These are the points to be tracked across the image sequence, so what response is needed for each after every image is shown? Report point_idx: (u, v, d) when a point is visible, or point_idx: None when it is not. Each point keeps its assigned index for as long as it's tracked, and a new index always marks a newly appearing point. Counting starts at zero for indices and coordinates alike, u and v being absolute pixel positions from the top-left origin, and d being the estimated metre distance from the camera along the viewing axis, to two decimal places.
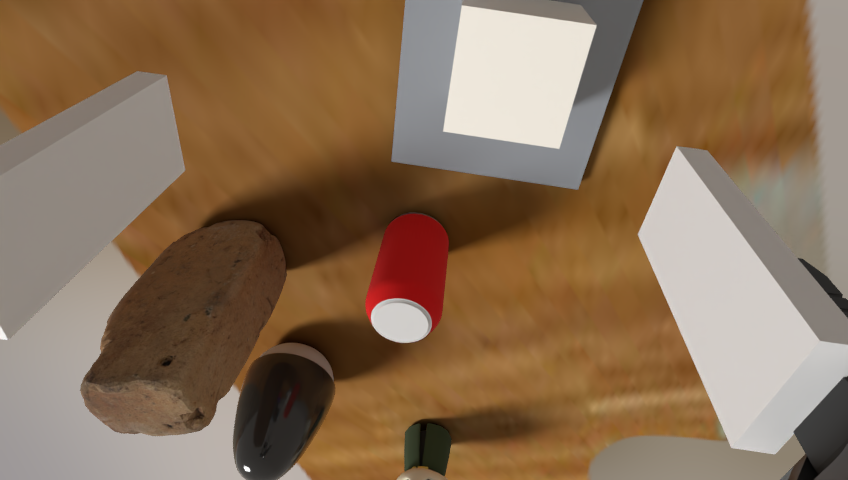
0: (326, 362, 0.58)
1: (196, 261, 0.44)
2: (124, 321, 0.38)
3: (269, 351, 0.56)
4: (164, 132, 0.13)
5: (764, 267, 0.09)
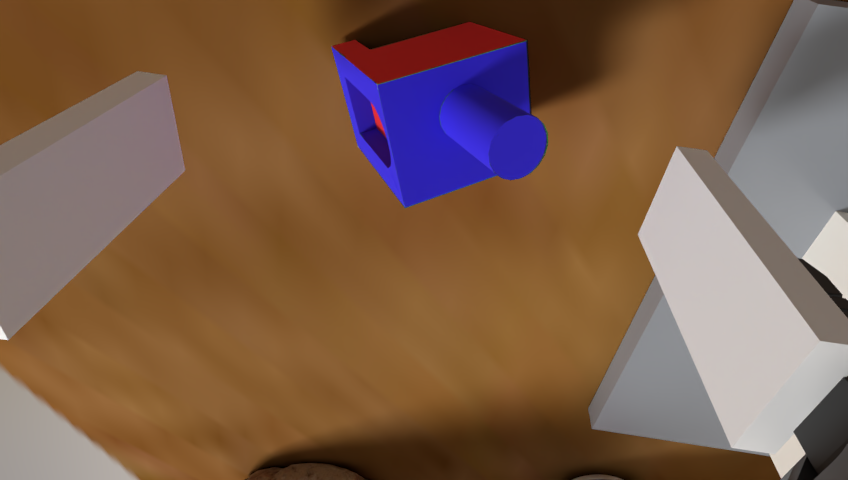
0: None
1: None
2: None
3: None
4: (164, 132, 0.13)
5: (764, 267, 0.09)
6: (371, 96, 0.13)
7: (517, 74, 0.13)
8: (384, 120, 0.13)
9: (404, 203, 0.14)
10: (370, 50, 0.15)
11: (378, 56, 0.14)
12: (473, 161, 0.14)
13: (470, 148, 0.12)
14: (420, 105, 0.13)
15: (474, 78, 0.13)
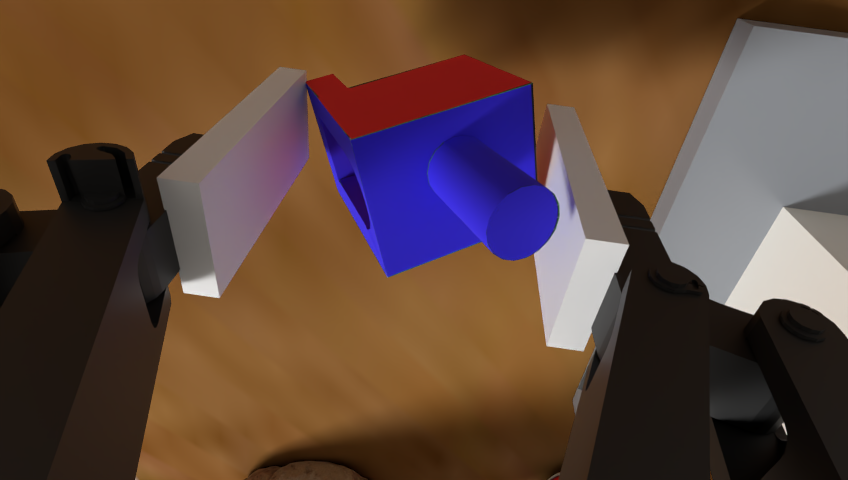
0: None
1: None
2: None
3: None
4: (301, 122, 0.14)
5: (571, 190, 0.10)
6: (346, 149, 0.11)
7: (520, 122, 0.11)
8: (360, 180, 0.11)
9: (386, 272, 0.12)
10: (348, 89, 0.13)
11: (356, 98, 0.12)
12: None
13: (464, 219, 0.10)
14: (404, 162, 0.11)
15: (469, 128, 0.11)
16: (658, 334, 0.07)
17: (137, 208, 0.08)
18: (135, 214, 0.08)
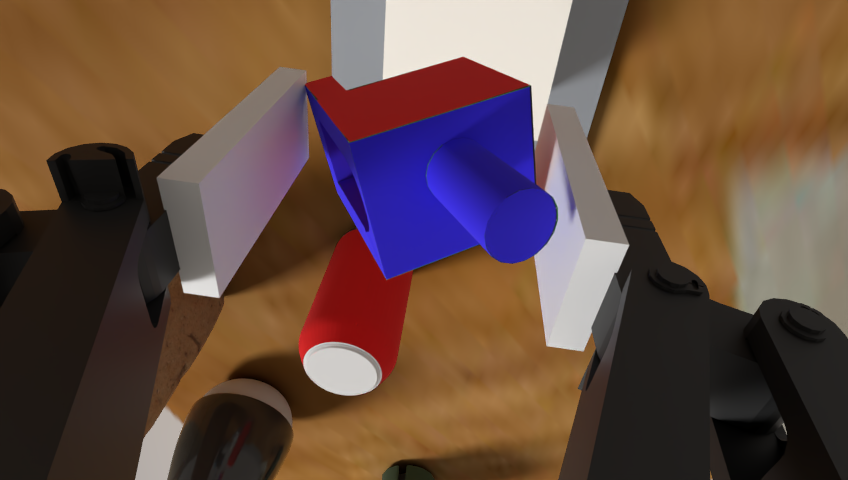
0: (282, 401, 0.49)
1: None
2: None
3: (213, 390, 0.48)
4: (301, 122, 0.14)
5: (571, 190, 0.10)
6: (344, 152, 0.11)
7: (519, 124, 0.11)
8: (359, 183, 0.11)
9: (385, 274, 0.12)
10: (347, 91, 0.13)
11: (355, 100, 0.12)
12: None
13: (462, 222, 0.10)
14: (402, 164, 0.11)
15: (467, 131, 0.11)
16: (658, 334, 0.07)
17: (137, 208, 0.08)
18: (135, 214, 0.08)
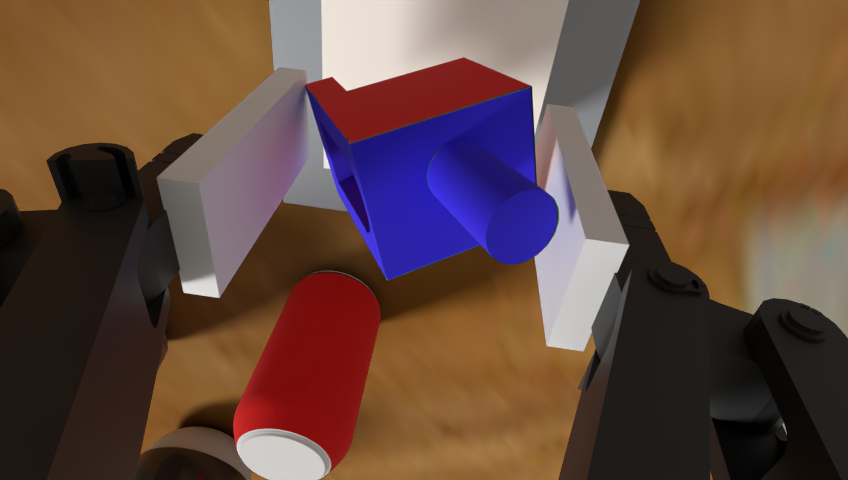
0: None
1: None
2: None
3: (160, 442, 0.43)
4: (301, 122, 0.14)
5: (571, 190, 0.10)
6: (345, 152, 0.11)
7: (519, 125, 0.11)
8: (360, 183, 0.11)
9: (386, 275, 0.12)
10: (347, 92, 0.13)
11: (355, 101, 0.12)
12: None
13: (463, 223, 0.10)
14: (403, 165, 0.11)
15: (468, 131, 0.11)
16: (658, 334, 0.07)
17: (137, 208, 0.08)
18: (135, 214, 0.08)
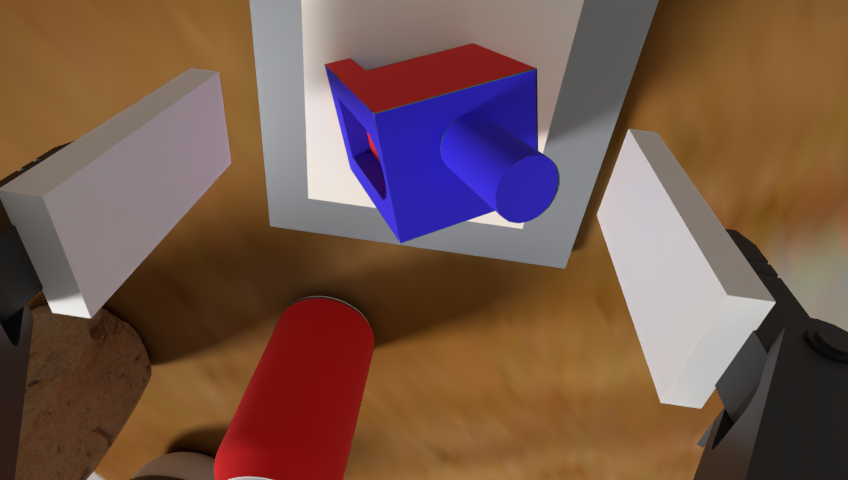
0: None
1: None
2: None
3: (145, 469, 0.41)
4: (215, 126, 0.13)
5: (689, 233, 0.09)
6: (367, 124, 0.12)
7: (525, 104, 0.12)
8: (380, 151, 0.12)
9: (400, 238, 0.13)
10: (366, 71, 0.14)
11: (375, 79, 0.13)
12: (475, 195, 0.13)
13: (474, 186, 0.11)
14: (420, 136, 0.12)
15: (479, 107, 0.12)
16: (816, 404, 0.06)
17: None
18: None
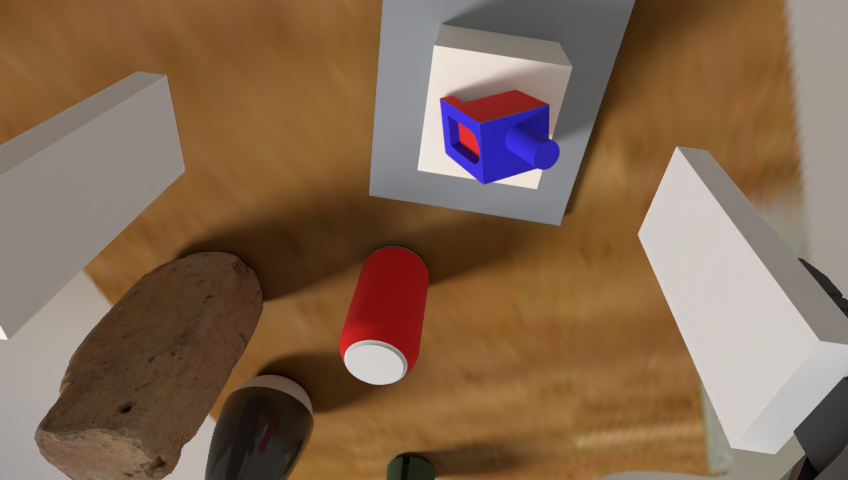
0: (305, 395, 0.56)
1: (166, 297, 0.42)
2: (86, 362, 0.37)
3: (246, 384, 0.55)
4: (164, 132, 0.13)
5: (764, 267, 0.09)
6: (472, 128, 0.27)
7: (543, 120, 0.27)
8: (480, 140, 0.26)
9: (483, 182, 0.28)
10: (465, 103, 0.29)
11: (472, 107, 0.28)
12: (518, 162, 0.28)
13: (523, 155, 0.25)
14: (497, 134, 0.26)
15: (523, 121, 0.27)
16: None
17: None
18: None
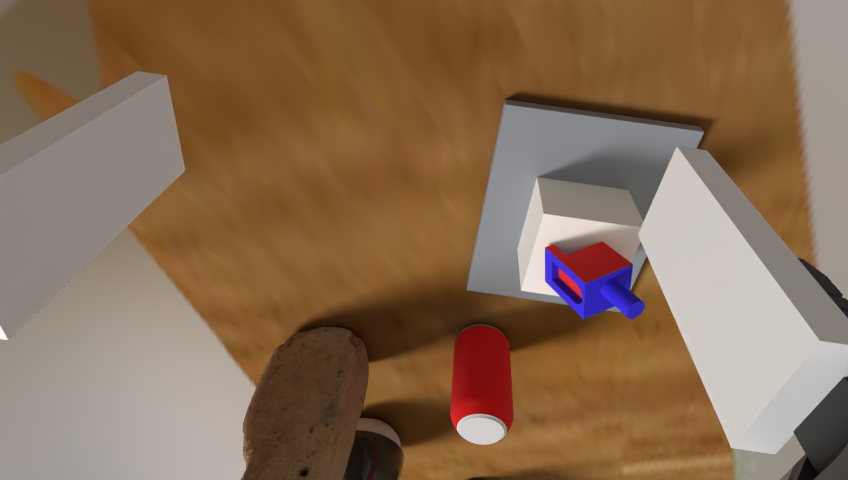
0: (396, 435, 0.67)
1: (305, 371, 0.53)
2: (259, 431, 0.48)
3: None
4: (164, 132, 0.13)
5: (764, 267, 0.09)
6: (577, 282, 0.37)
7: (628, 274, 0.37)
8: (584, 292, 0.37)
9: (583, 317, 0.38)
10: (567, 255, 0.39)
11: (574, 262, 0.38)
12: (608, 302, 0.38)
13: (617, 306, 0.36)
14: (596, 287, 0.37)
15: (614, 277, 0.37)
16: None
17: None
18: None
